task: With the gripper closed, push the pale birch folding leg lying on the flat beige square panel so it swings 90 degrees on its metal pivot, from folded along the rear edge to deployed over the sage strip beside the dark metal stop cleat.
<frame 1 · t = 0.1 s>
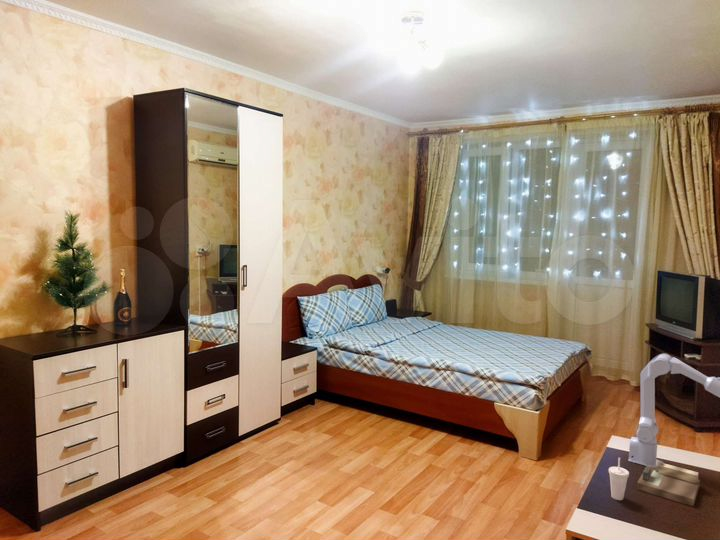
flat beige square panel: (668, 487, 184), on the table
smoothie: (617, 497, 178), on the table
hinged leg: (659, 471, 191), point 2 cm above the table, hinge at 0.0°
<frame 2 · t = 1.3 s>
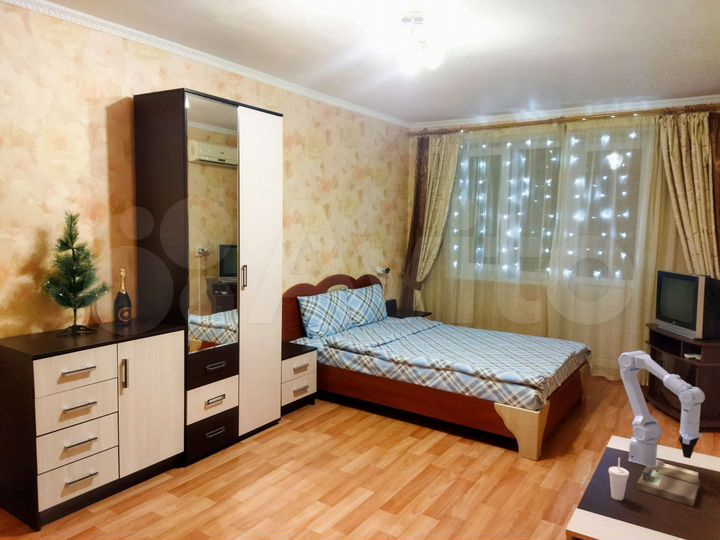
hand: (687, 456, 188), 9 cm above the table, fingers closed
nothing on the table moved.
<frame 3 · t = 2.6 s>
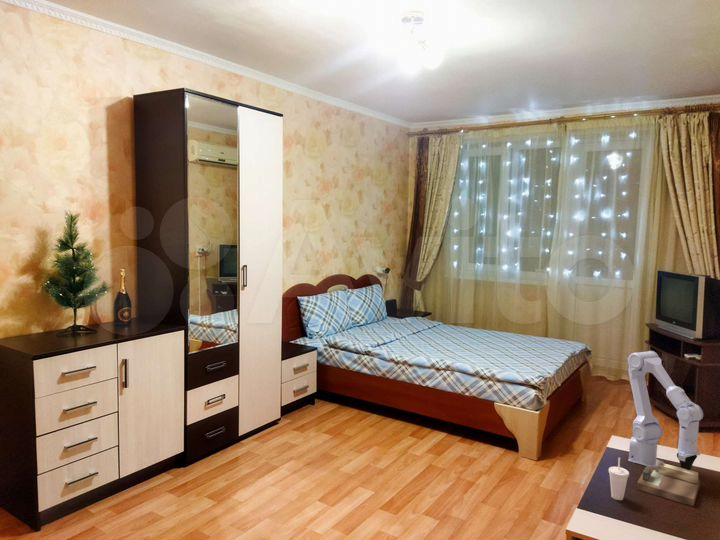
hand: (685, 473, 188), 3 cm above the table, fingers closed
hinged leg: (659, 471, 191), point 2 cm above the table, hinge at 0.0°, touching gripper
everything else where it was.
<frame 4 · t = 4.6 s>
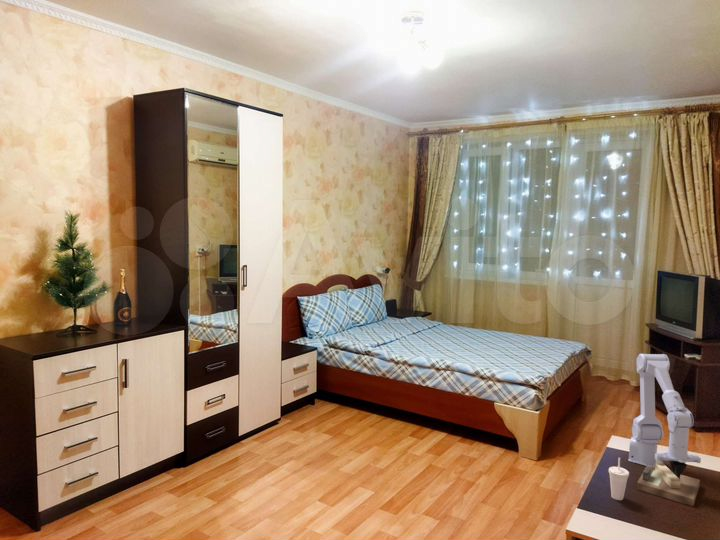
hand: (675, 480, 183), 3 cm above the table, fingers closed
hinged leg: (659, 471, 191), point 2 cm above the table, hinge at -56.2°, touching gripper
everything else where it was.
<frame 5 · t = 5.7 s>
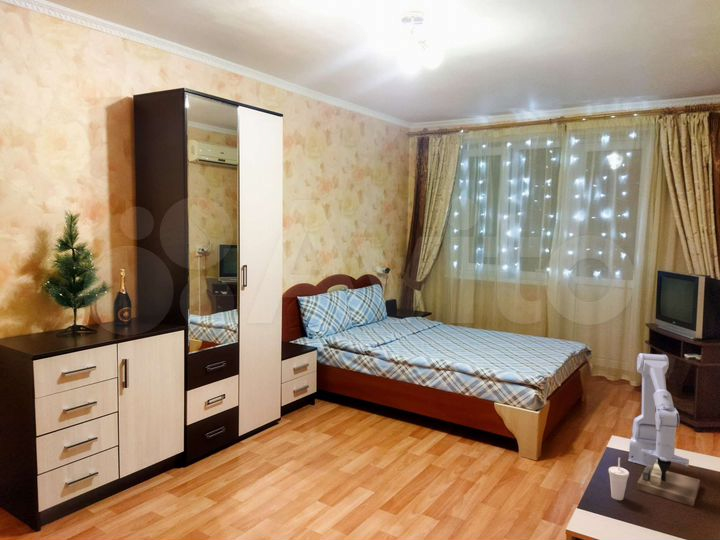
hand: (663, 479, 183), 3 cm above the table, fingers closed, pressing on hinged leg
hinged leg: (659, 471, 191), point 2 cm above the table, hinge at -86.7°, touching gripper
everything else where it was.
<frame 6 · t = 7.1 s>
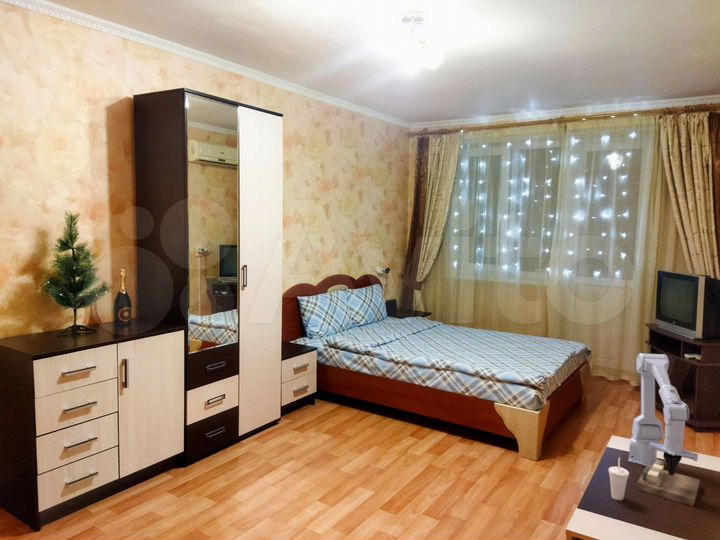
hand: (671, 473, 181), 7 cm above the table, fingers closed
hinged leg: (659, 471, 191), point 2 cm above the table, hinge at -92.2°, touching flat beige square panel
everything else where it was.
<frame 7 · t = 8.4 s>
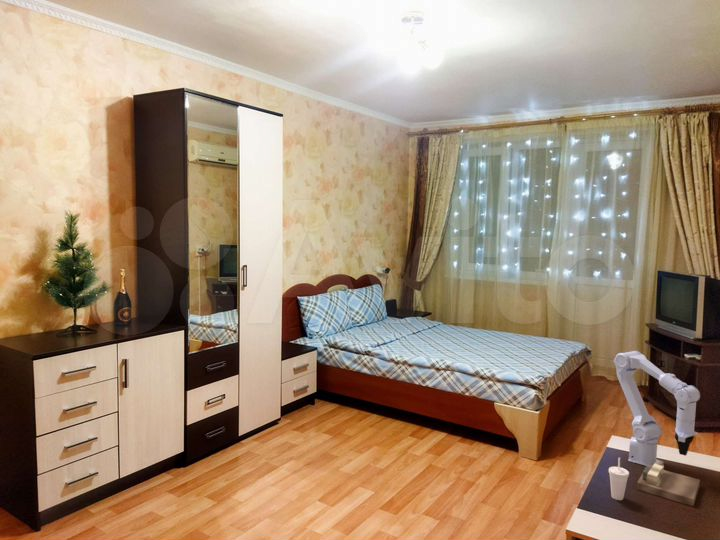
hand: (683, 454, 190), 9 cm above the table, fingers closed
nothing on the table moved.
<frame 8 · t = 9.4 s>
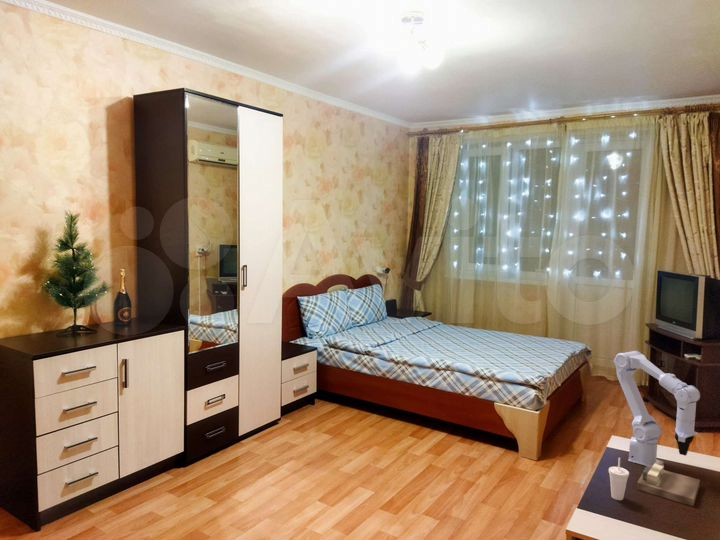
hand: (683, 454, 190), 9 cm above the table, fingers closed
nothing on the table moved.
at the end: hinged leg at -92° (first picture: +0°); smoothie moved 0.2 cm from its start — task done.
